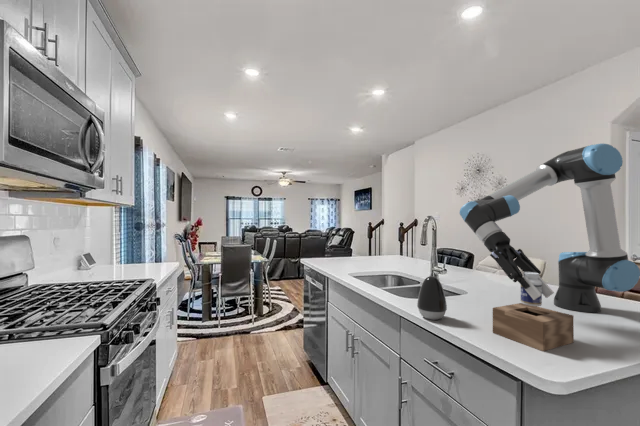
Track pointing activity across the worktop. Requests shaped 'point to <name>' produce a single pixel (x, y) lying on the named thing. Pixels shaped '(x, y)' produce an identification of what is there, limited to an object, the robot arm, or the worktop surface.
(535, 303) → the pill bottle
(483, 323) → the worktop surface
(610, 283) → the robot arm
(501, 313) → the drop box
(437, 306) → the dark grey egg speaker
